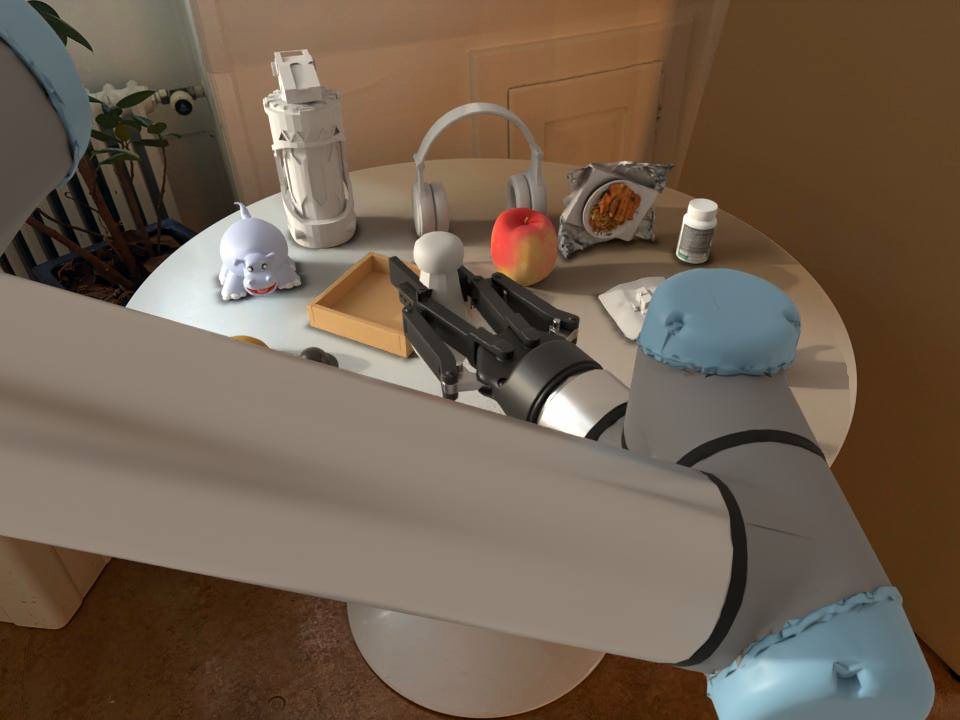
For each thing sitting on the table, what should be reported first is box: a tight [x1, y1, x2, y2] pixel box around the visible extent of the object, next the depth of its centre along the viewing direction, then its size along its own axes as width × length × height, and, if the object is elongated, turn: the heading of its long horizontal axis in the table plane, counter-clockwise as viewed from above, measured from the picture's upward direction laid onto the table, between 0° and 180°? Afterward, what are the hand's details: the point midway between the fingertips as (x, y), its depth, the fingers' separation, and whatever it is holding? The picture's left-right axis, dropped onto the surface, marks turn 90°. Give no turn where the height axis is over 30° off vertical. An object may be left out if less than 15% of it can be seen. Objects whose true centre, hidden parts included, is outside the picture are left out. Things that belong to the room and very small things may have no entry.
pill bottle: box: [675, 198, 719, 265], centre depth 100 cm, size 5×5×8 cm
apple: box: [490, 207, 559, 287], centre depth 95 cm, size 10×10×10 cm
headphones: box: [410, 102, 548, 238], centre depth 103 cm, size 20×8×19 cm, turn 103°
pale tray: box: [306, 251, 421, 359], centre depth 91 cm, size 15×15×3 cm
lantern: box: [262, 48, 357, 249], centre depth 101 cm, size 13×10×25 cm
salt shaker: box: [411, 231, 470, 371], centre depth 62 cm, size 6×6×13 cm
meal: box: [557, 160, 675, 260], centre depth 101 cm, size 15×4×13 cm, turn 107°
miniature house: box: [598, 276, 667, 342], centre depth 91 cm, size 12×11×4 cm
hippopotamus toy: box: [218, 201, 302, 301], centre depth 94 cm, size 11×15×10 cm
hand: (410, 263), depth 65 cm, fingers closed on salt shaker, 3 cm apart
